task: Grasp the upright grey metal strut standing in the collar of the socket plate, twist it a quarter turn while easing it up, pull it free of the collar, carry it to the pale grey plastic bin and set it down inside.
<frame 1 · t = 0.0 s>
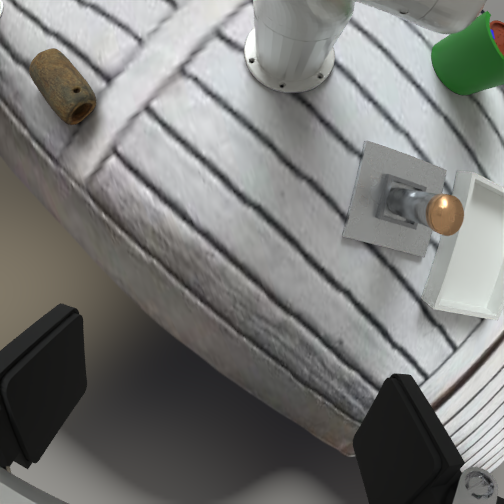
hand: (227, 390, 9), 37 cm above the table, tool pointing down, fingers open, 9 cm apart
motor: (455, 70, 37), on the table
bin: (475, 246, 44), on the table
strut: (399, 201, 42), point 1 cm above the table, touching socket plate
socket plate: (396, 200, 43), on the table
stone weight: (71, 87, 40), on the table
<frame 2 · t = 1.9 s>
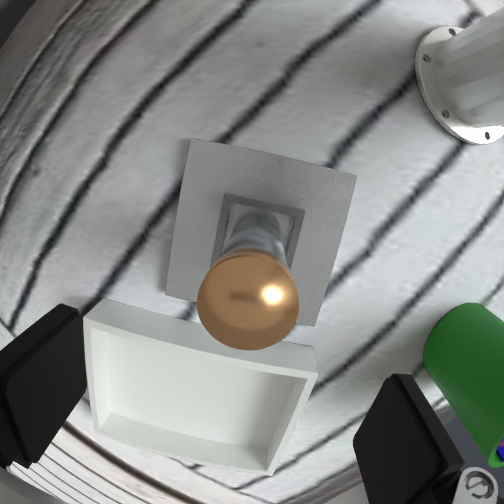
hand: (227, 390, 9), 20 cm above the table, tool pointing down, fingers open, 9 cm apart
motor: (454, 342, 30), on the table
bin: (194, 387, 32), on the table
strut: (256, 237, 27), point 1 cm above the table, touching socket plate
socket plate: (256, 234, 28), on the table
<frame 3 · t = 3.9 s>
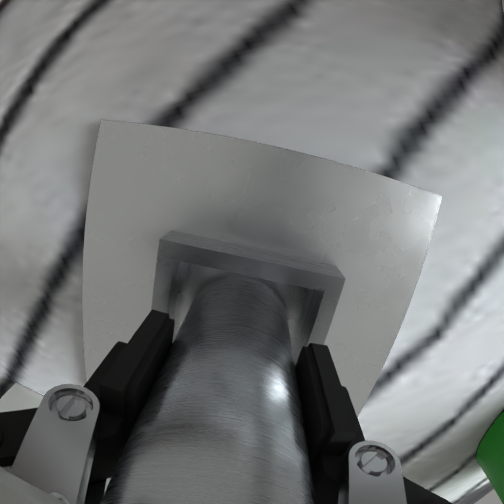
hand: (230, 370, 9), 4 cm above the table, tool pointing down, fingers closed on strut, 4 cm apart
bin: (157, 498, 18), on the table
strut: (237, 323, 13), point 1 cm above the table, touching gripper, socket plate
socket plate: (239, 313, 14), on the table
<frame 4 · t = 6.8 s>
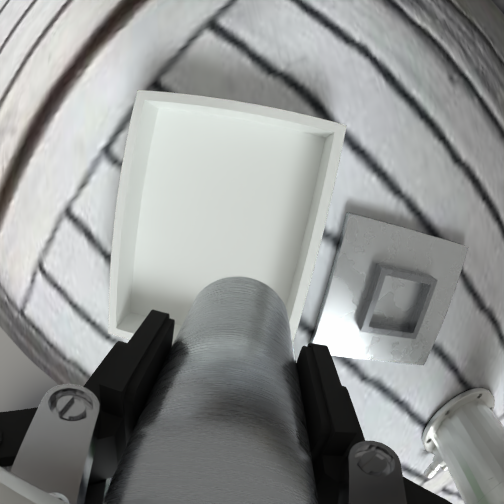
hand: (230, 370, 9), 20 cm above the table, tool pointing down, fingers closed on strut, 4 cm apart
bin: (219, 229, 29), on the table
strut: (238, 323, 13), point 17 cm above the table, touching gripper
socket plate: (391, 296, 30), on the table
when the fingers open (5 cm above the table, at t = 10.1 s): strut stays where it is, resting on bin.
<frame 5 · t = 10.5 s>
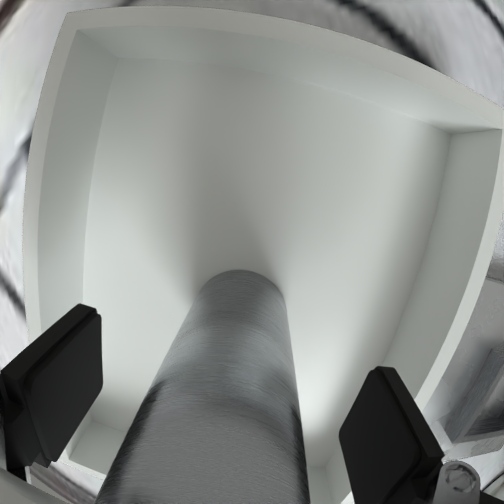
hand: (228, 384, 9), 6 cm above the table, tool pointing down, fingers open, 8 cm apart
bin: (239, 305, 14), on the table
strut: (240, 313, 14), point 1 cm above the table, touching bin
socket plate: (490, 383, 16), on the table
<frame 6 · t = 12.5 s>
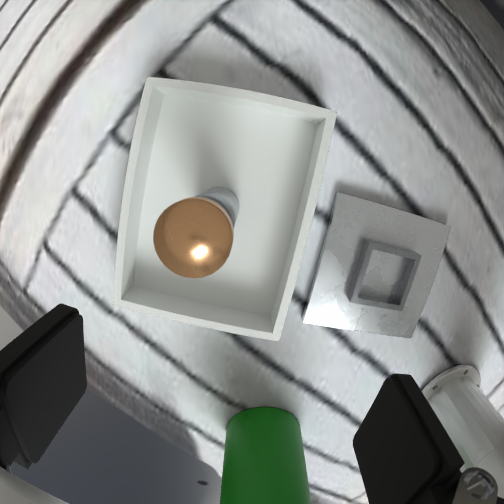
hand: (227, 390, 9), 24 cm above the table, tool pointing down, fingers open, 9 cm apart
motor: (263, 427, 39), on the table
bin: (218, 206, 31), on the table
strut: (218, 207, 30), point 1 cm above the table, touching bin
socket plate: (378, 271, 33), on the table
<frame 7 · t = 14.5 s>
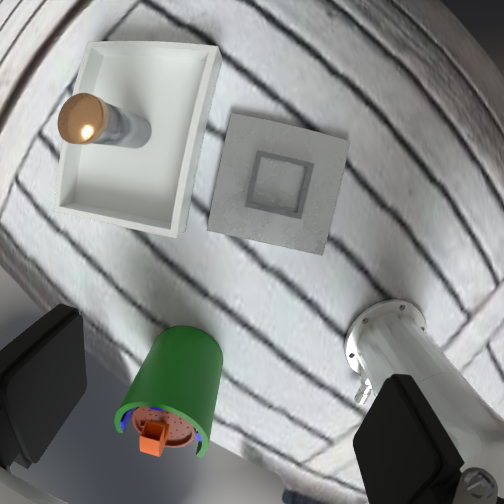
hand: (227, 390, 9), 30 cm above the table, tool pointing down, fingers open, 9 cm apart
motor: (187, 352, 43), on the table
bin: (138, 133, 35), on the table
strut: (136, 132, 35), point 1 cm above the table, touching bin
socket plate: (278, 183, 37), on the table
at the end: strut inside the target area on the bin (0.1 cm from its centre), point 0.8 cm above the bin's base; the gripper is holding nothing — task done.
